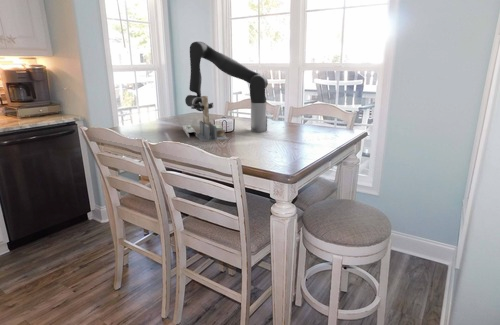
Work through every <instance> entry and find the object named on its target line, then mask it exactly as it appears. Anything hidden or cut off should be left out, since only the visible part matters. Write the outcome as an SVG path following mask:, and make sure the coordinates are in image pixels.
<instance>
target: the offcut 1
mask: <svg viewBox="0 0 500 325" xmlns="http://www.w3.org/2000/svg"><path fill="white" fill-rule="evenodd" d="M214 125H215V126H216V129H217V131H220V130H224V127H223V126H222V125H220V123H219V124H214Z"/></svg>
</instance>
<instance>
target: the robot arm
mask: <svg viewBox="0 0 500 325" xmlns="http://www.w3.org/2000/svg"><path fill="white" fill-rule="evenodd" d="M202 59H204V60H207V61H208V62H210V63H212V64H214V66H215V67H216V68H217V69H218V70H220V71H221V72H223V73H225V74H227V75H228V76H230V77H232V78H233V77H234V78H236V79H238V80H242V81H244V82H246V83H248V84H249V98H250V130H251V132H256V133H261V132H263V133H264V132H266V131H268V115H267V97H266V89H267V87H268V84H269V81H268V78H267V77H266V76H265V75H264V74H261V73H258V72H255V71H253V70H251V69H249V68H248V67H246V66H245V65H243V64H242V63H240V62H238V61H237V60H235V59H233V58H232V57H230V56H228V55H225V54H224V53H222V52H219V51H217V50H216V49H214V48H212V47H211V46H209V45H208V44H207V43H206V42H204V41H193V42H191V44H190V46H189V60H190V61H189V62H190V63H189V64H190V76H189V86H188V87H189V91H190V92H192V93H194V94H196V95H191V94H188V95H186V97H185V101H184V102H185V105H186V106H187V107H189V108H191V109H193V110H196V111H198V112H203V110H204V106H203V105H202V91H201V90H202V88H201V87H202V73H201V60H202ZM213 108H214V102H208V110H210V109H213ZM202 109H203V110H202Z"/></svg>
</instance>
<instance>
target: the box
mask: <svg viewBox="0 0 500 325" xmlns="http://www.w3.org/2000/svg"><path fill="white" fill-rule="evenodd" d="M182 130H183V132H184V133H185V134H186V136H187V137H188V138H190V134H189V133H193V134H194V135H195V137H196V138H198V137H197V134H196V133H197V131H196V130H195V128H193V127H192V125H191V124H185V125H183V124H182Z"/></svg>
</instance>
